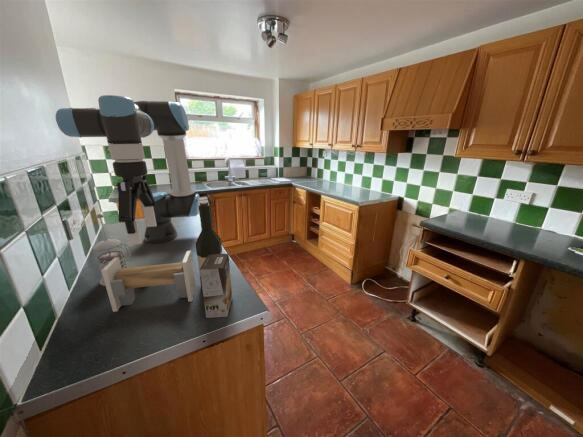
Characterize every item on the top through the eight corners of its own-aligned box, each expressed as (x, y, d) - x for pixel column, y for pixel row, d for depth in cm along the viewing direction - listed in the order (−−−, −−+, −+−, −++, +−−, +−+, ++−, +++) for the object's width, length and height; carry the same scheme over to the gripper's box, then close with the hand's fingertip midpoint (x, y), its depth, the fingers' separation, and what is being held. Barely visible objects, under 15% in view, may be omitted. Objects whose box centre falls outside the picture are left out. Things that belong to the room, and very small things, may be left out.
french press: (93, 282, 86) (73, 216, 78) (124, 267, 97) (110, 207, 89) (111, 288, 83) (92, 220, 75) (142, 272, 93) (128, 210, 85)
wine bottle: (203, 293, 80) (191, 207, 71) (199, 281, 87) (188, 201, 78) (227, 286, 84) (219, 204, 74) (222, 275, 91) (214, 198, 81)
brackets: (124, 295, 79) (114, 257, 75) (196, 286, 84) (190, 250, 79) (113, 311, 72) (101, 270, 67) (192, 301, 76) (186, 262, 72)
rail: (125, 282, 76) (121, 268, 74) (186, 275, 80) (183, 262, 78) (119, 289, 72) (116, 275, 71) (183, 282, 76) (181, 268, 74)
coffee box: (228, 317, 70) (223, 268, 65) (205, 318, 69) (198, 269, 64) (232, 297, 78) (228, 253, 73) (212, 298, 78) (207, 253, 73)
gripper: (131, 157, 75) (144, 221, 82) (86, 166, 52) (109, 254, 58) (158, 156, 76) (168, 219, 83) (125, 165, 53) (143, 251, 60)
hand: (144, 234), depth 71 cm, fingers open, 13 cm apart
